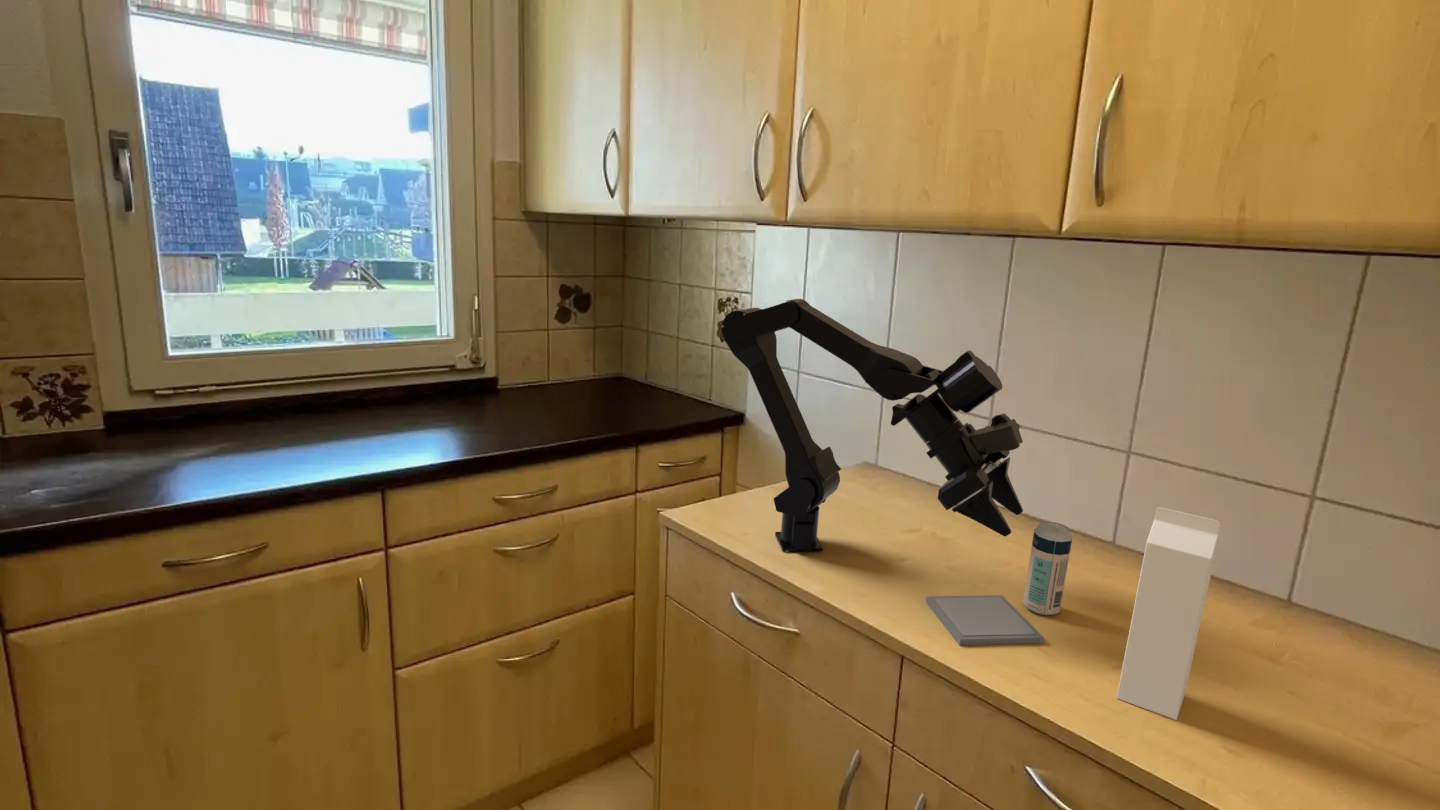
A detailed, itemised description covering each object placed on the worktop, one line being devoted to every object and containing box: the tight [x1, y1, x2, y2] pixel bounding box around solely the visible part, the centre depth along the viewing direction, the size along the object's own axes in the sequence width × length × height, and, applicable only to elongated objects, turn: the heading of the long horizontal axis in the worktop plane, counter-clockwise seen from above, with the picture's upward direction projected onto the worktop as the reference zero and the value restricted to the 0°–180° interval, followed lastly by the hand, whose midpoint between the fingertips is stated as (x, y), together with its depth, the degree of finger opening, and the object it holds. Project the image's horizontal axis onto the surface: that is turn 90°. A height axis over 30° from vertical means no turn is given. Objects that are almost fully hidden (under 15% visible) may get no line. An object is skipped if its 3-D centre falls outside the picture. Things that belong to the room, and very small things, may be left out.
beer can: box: [1022, 520, 1074, 616], centre depth 105 cm, size 5×5×12 cm
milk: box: [1116, 506, 1221, 721], centre depth 84 cm, size 6×6×22 cm
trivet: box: [925, 594, 1044, 646], centre depth 102 cm, size 11×11×1 cm
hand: (1014, 523), depth 106 cm, fingers open, 9 cm apart
